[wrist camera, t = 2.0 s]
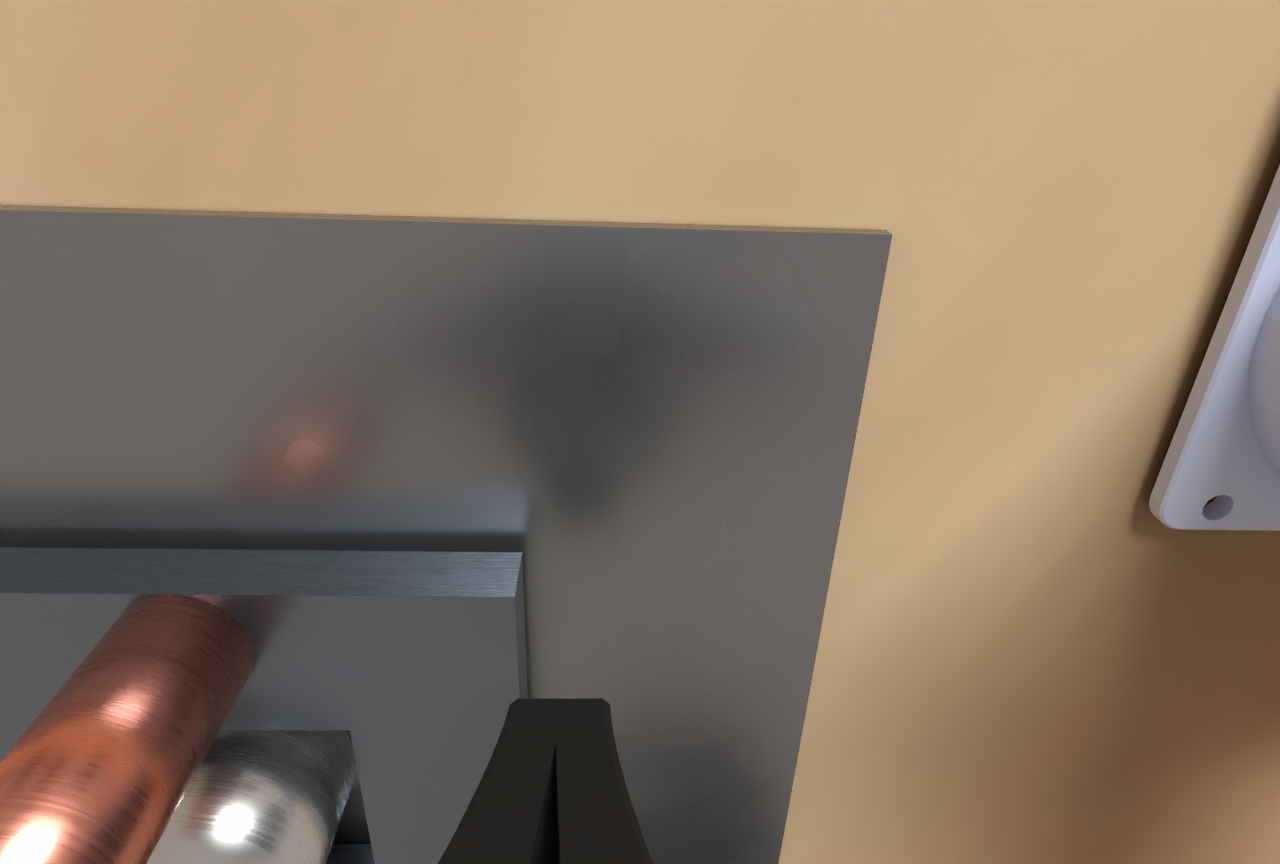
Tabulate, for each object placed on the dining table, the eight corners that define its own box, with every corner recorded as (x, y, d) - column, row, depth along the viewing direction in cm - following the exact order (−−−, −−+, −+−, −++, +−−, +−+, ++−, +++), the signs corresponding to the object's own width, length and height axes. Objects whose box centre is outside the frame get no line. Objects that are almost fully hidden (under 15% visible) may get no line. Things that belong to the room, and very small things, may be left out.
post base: (886, 230, 12) (974, 298, 9) (745, 1021, 22) (765, 1174, 19) (-674, 185, 11) (-1136, 247, 8) (-74, 1035, 21) (-183, 1197, 18)
